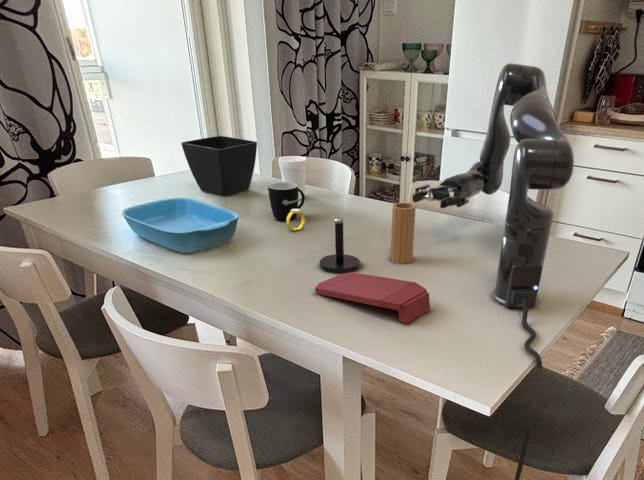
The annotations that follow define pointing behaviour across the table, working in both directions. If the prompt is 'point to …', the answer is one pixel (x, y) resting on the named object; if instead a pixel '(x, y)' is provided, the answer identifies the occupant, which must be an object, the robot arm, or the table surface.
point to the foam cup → (294, 171)
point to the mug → (284, 199)
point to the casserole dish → (182, 223)
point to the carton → (379, 293)
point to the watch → (290, 217)
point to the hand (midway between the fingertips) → (427, 201)
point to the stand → (339, 255)
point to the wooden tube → (402, 232)
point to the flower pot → (221, 163)
